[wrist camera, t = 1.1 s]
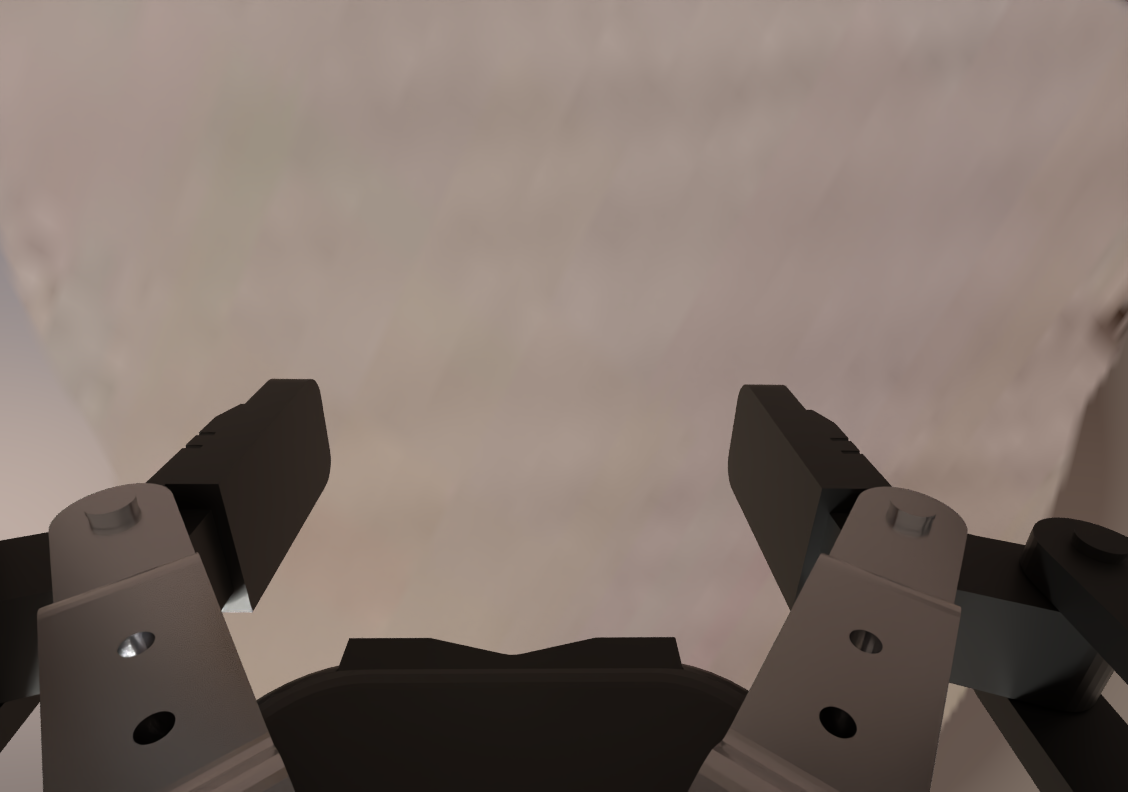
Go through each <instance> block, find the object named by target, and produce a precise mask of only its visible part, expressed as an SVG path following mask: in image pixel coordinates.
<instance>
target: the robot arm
mask: <svg viewBox="0 0 1128 792" xmlns="http://www.w3.org/2000/svg"><path fill="white" fill-rule="evenodd" d="M1126 1H1127V2H1128V0H1126ZM859 452H860V451H859V449H858V448H857V447H856V446H855V445H854V444H853V443H852V442H851V441H848V437H847V436H846V435H845V434H844V433H843V432H842V431H841V429H840V428H839V427H838V426H837V425H836V424H835V423H834V422H832V421H830V420H829V419H827V418H825V417H823V416H822V415H820V414H818V413H817V412H815V411H813V410H806V409H805V408H804V407H803V406H802V405H801V403H800V402H799V401H798V400H797V399H796V397H795V396H794V395H793V394H792V393H791V392H790V390H789V389H788V388H787V387H786V386H785V385H743V386H742V388H741V390H740V392H739V395H738V400H737V407H736V413H735V419H734V425H733V431H732V438H731V444H730V450H729V457H728V475H729V481H730V485H731V488H732V490H733V492H734V494H735V496H736V499H737V501H738V503H739V505H740V507H741V509H742V511H743V513H744V515H745V517H746V519H747V521H748V524H749V526H750V528H751V530H752V532H753V534H754V536H755V538H756V540H757V542H758V544H759V546H760V549H761V551H762V553H763V555H764V557H765V559H766V561H767V563H768V565H769V567H770V569H771V571H772V574H773V576H774V578H775V580H776V582H777V584H778V586H779V588H780V590H781V592H782V594H783V596H784V598H785V601H786V603H787V605H788V607H789V609H790V613H789V615H788V617H787V619H786V621H785V623H784V625H783V627H782V628H781V630H780V632H779V634H778V636H777V638H776V640H775V642H774V644H773V646H772V648H771V650H770V652H769V653H768V655H767V657H766V659H765V661H764V663H763V665H762V667H761V669H760V671H759V673H758V675H757V677H756V678H755V680H754V682H753V684H752V686H751V688H750V690H749V691H748V690H746V689H745V688H743V687H741V686H739V685H737V684H736V683H734V682H732V681H730V680H728V679H726V678H723V677H721V676H719V675H716V674H714V673H712V672H709V671H706V670H703V669H700V668H697V667H694V666H690V665H685V664H681V660H680V656H679V651H678V647H677V643H676V639H675V637H622V638H592V639H587V640H583V641H578V642H574V643H569V644H565V645H560V646H556V647H551V648H546V649H542V650H537V651H533V652H528V653H524V654H518V655H507V654H501V653H497V652H492V651H487V650H483V649H478V648H474V647H469V646H464V645H460V644H455V643H450V642H446V641H441V640H437V639H432V638H349V641H348V643H347V646H346V649H345V651H344V654H343V657H342V660H341V662H340V665H339V666H335V667H331V668H327V669H324V670H321V671H317V672H314V673H311V674H308V675H306V676H303V677H301V678H298V679H296V680H294V681H291V682H289V683H287V684H285V685H283V686H281V687H279V688H277V689H275V690H273V691H271V692H269V693H267V694H266V695H264V696H263V697H261V698H259V699H258V700H256V699H255V696H254V694H253V691H252V688H251V686H250V683H249V681H248V678H247V676H246V673H245V670H244V668H243V665H242V663H241V660H240V658H239V655H238V653H237V650H236V647H235V645H234V642H233V640H232V637H231V635H230V632H229V629H228V627H227V624H226V622H225V619H224V617H223V614H222V612H253V610H254V609H255V607H256V605H257V604H258V602H259V600H260V598H261V597H262V595H263V593H264V591H265V590H266V588H267V586H268V585H269V583H270V581H271V579H272V578H273V576H274V574H275V572H276V571H277V569H278V567H279V566H280V564H281V562H282V560H283V559H284V557H285V555H286V553H287V552H288V550H289V548H290V547H291V545H292V543H293V541H294V540H295V538H296V536H297V534H298V533H299V531H300V529H301V528H302V526H303V524H304V522H305V521H306V519H307V517H308V516H309V514H310V512H311V510H312V509H313V507H314V505H315V503H316V502H317V500H318V498H319V497H320V495H321V493H322V491H323V490H324V488H325V486H326V484H327V481H328V478H329V474H330V466H331V456H330V448H329V442H328V436H327V430H326V424H325V418H324V412H323V406H322V400H321V394H320V390H319V387H318V384H317V383H316V381H315V380H313V379H270V380H269V381H267V382H266V383H265V384H264V385H263V386H262V387H261V388H260V389H259V390H258V391H257V392H256V393H255V394H254V395H253V396H252V397H251V398H250V399H249V400H248V401H247V402H246V403H245V404H240V405H238V406H236V407H234V408H232V409H230V410H228V411H226V412H224V413H222V414H220V415H218V416H216V417H215V418H214V419H213V420H212V421H211V422H210V423H209V424H207V425H206V426H205V427H204V428H203V429H202V430H201V431H200V432H199V435H196V436H195V437H194V438H193V439H192V440H191V441H189V442H188V443H187V444H186V448H182V449H181V450H180V451H179V452H178V453H177V454H176V455H175V456H174V457H173V458H171V459H170V460H169V461H168V462H167V463H166V464H165V465H164V466H163V467H162V468H161V469H160V470H159V471H158V472H157V473H156V474H155V475H153V476H152V477H151V478H150V479H149V480H148V481H147V482H146V483H136V484H127V485H121V486H116V487H112V488H108V489H105V490H102V491H99V492H96V493H94V494H91V495H88V496H86V497H84V498H82V499H80V500H78V501H76V502H75V503H73V504H71V505H69V506H68V507H67V508H65V509H64V510H62V511H61V512H60V513H59V514H58V515H57V516H56V517H55V518H54V519H53V521H52V522H51V524H50V526H49V532H47V533H41V534H36V535H30V536H24V537H19V538H13V539H7V540H2V541H0V752H1V751H2V750H3V748H4V747H5V746H6V745H7V743H8V742H9V741H10V740H11V738H12V737H13V736H14V734H15V733H16V732H17V731H18V729H19V728H20V726H21V725H22V724H23V723H24V722H25V720H26V719H27V718H28V716H29V715H30V714H31V713H32V711H33V710H34V708H35V707H36V706H37V705H38V703H39V702H40V717H41V743H42V744H41V745H42V771H43V772H42V773H43V792H930V788H931V782H932V776H933V770H934V765H935V759H936V754H937V748H938V742H939V736H940V731H941V725H942V719H943V714H944V708H945V702H946V696H947V691H948V685H949V683H953V684H957V685H960V686H964V687H968V688H972V689H974V691H975V693H976V695H977V696H978V698H979V699H980V701H981V702H982V704H983V705H984V707H985V708H986V710H987V712H988V713H989V714H990V716H991V718H992V719H993V721H994V722H995V724H996V725H997V726H998V728H999V730H1000V731H1001V733H1002V734H1003V736H1004V737H1005V739H1006V740H1007V742H1008V743H1009V745H1010V746H1011V748H1012V750H1013V751H1014V753H1015V754H1016V756H1017V757H1018V759H1019V760H1020V762H1021V763H1022V765H1023V766H1024V768H1025V769H1026V771H1027V772H1028V774H1029V775H1030V777H1031V778H1032V780H1033V781H1034V783H1035V784H1036V786H1037V788H1038V789H1039V790H1040V792H1128V725H1127V724H1126V722H1125V721H1124V720H1123V719H1122V718H1121V717H1120V715H1119V714H1118V713H1117V712H1116V711H1115V710H1114V709H1113V707H1112V706H1111V705H1110V704H1109V703H1108V702H1107V700H1106V699H1105V698H1104V697H1103V696H1102V695H1101V692H1102V691H1103V689H1104V687H1105V686H1106V684H1107V682H1108V680H1109V679H1110V677H1111V675H1112V674H1113V672H1114V670H1115V671H1116V673H1117V674H1118V675H1119V676H1120V677H1121V678H1122V679H1123V680H1124V681H1125V682H1126V683H1127V684H1128V537H1125V536H1124V535H1122V534H1120V533H1117V532H1115V531H1113V530H1110V529H1107V528H1105V527H1102V526H1099V525H1096V524H1093V523H1089V522H1085V521H1081V520H1075V519H1069V518H1047V519H1043V520H1040V521H1038V522H1037V523H1036V524H1035V525H1034V527H1033V529H1032V531H1031V533H1030V536H1029V538H1028V540H1027V543H1026V545H1021V544H1016V543H1011V542H1006V541H1001V540H995V539H990V538H985V537H980V536H975V535H971V534H967V526H966V524H965V522H964V520H963V519H962V518H961V517H960V516H959V515H958V513H956V512H955V511H954V510H953V509H951V508H950V507H949V506H947V505H945V504H944V503H942V502H940V501H938V500H937V499H934V498H932V497H930V496H928V495H925V494H922V493H919V492H916V491H912V490H909V489H904V488H897V487H892V486H891V485H890V484H889V483H888V482H887V480H886V479H885V478H884V477H883V476H882V475H881V474H880V473H879V472H878V471H877V469H876V468H875V467H874V466H873V465H872V464H871V463H870V462H869V461H868V459H867V458H866V457H865V456H864V455H863V454H860V453H859Z"/></svg>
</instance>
